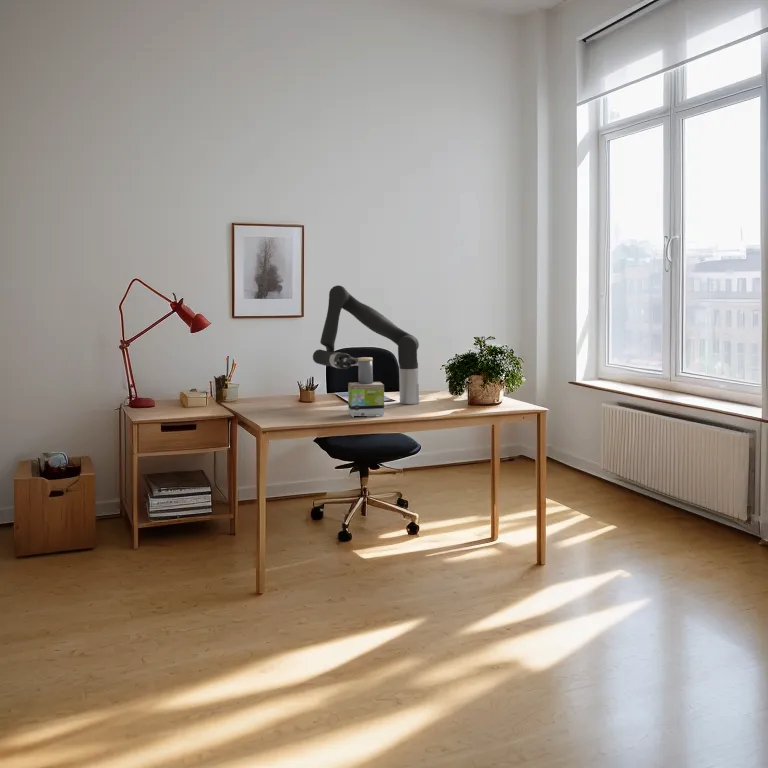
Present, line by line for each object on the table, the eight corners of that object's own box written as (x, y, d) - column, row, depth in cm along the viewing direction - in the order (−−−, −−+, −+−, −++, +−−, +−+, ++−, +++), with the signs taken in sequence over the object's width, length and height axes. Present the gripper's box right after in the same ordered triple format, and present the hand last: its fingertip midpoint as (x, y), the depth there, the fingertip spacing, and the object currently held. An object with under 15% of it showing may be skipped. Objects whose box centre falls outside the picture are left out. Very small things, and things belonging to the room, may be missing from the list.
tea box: (351, 418, 359) (351, 385, 357) (348, 414, 369) (347, 382, 367) (384, 416, 362) (384, 383, 360) (380, 412, 372) (379, 380, 370)
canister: (372, 381, 367) (372, 357, 365) (373, 383, 360) (372, 358, 359) (358, 382, 366) (357, 357, 365) (358, 384, 360) (358, 358, 358)
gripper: (327, 353, 376) (344, 356, 363) (353, 351, 384) (371, 354, 371) (327, 369, 377) (345, 373, 364) (353, 367, 385) (371, 370, 372)
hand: (358, 363), depth 367 cm, fingers open, 8 cm apart
